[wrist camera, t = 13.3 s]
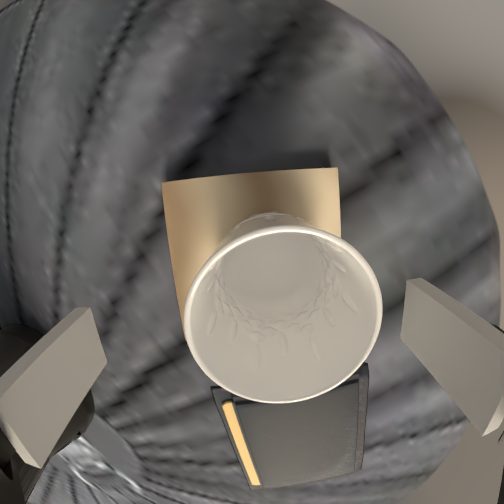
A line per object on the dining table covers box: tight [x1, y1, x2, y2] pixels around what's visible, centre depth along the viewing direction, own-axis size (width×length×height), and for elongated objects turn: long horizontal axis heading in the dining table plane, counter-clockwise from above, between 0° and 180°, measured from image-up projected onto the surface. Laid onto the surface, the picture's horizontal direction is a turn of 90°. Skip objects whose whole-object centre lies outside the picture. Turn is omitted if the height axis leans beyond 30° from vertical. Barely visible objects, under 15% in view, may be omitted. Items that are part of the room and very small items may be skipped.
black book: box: [211, 362, 369, 490], centre depth 27 cm, size 20×2×15 cm
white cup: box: [184, 211, 382, 403], centre depth 16 cm, size 8×8×10 cm
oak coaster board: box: [162, 168, 341, 341], centre depth 22 cm, size 12×12×2 cm
